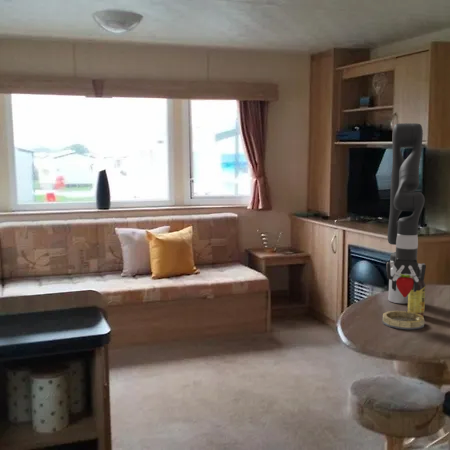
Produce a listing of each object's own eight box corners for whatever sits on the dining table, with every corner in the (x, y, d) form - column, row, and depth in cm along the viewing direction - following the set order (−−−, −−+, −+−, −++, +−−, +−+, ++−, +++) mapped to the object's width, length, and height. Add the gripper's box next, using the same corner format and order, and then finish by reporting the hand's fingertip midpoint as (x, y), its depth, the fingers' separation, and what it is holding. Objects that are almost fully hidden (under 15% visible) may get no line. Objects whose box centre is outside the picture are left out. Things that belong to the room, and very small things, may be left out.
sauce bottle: (425, 318, 224) (427, 267, 221) (408, 317, 225) (410, 266, 223) (422, 313, 231) (425, 263, 228) (406, 312, 232) (408, 263, 229)
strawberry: (391, 297, 216) (392, 270, 214) (402, 293, 221) (403, 267, 219) (406, 300, 211) (407, 273, 210) (416, 296, 216) (418, 270, 215)
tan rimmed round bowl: (380, 316, 226) (381, 309, 226) (420, 318, 223) (421, 311, 223) (384, 328, 212) (384, 321, 211) (426, 331, 209) (427, 323, 208)
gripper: (425, 245, 216) (423, 289, 218) (385, 243, 218) (383, 287, 221) (429, 248, 208) (426, 294, 211) (387, 247, 211) (385, 292, 213)
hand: (404, 290), depth 216 cm, fingers closed on strawberry, 6 cm apart
